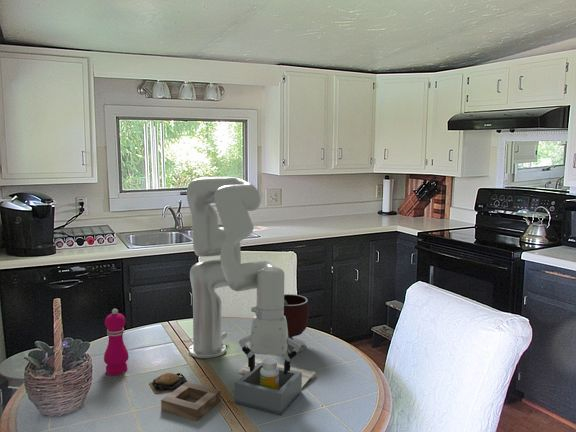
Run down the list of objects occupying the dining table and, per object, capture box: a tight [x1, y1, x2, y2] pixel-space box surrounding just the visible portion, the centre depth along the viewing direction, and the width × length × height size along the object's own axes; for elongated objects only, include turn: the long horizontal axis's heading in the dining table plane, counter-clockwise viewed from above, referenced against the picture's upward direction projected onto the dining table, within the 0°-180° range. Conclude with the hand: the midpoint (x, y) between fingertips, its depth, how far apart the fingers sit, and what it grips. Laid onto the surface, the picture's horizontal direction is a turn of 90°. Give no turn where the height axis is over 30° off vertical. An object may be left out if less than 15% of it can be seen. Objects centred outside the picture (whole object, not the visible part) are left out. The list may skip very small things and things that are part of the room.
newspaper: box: [238, 357, 317, 388], centre depth 154 cm, size 23×12×2 cm, turn 62°
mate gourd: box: [284, 293, 310, 353], centre depth 173 cm, size 16×14×20 cm
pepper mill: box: [103, 308, 129, 376], centre depth 152 cm, size 7×7×20 cm
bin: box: [234, 363, 303, 416], centre depth 139 cm, size 14×14×6 cm
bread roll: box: [148, 372, 188, 395], centre depth 145 cm, size 11×8×4 cm
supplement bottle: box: [260, 358, 279, 390], centre depth 138 cm, size 5×5×10 cm
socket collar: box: [160, 381, 222, 422], centre depth 134 cm, size 11×11×3 cm
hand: (269, 371), depth 138 cm, fingers open, 9 cm apart
